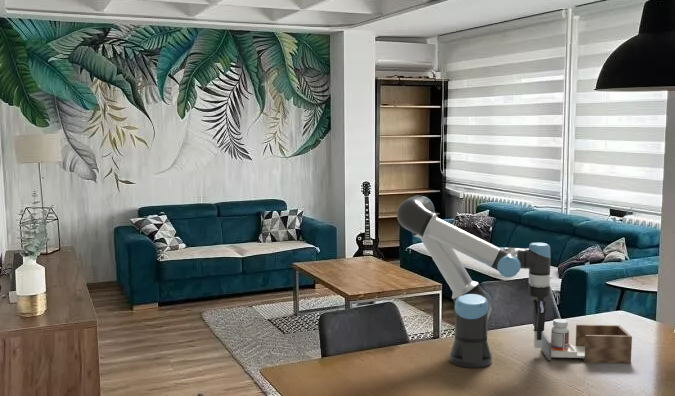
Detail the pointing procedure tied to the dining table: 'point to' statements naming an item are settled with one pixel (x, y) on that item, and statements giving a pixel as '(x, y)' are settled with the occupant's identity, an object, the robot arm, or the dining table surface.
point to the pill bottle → (560, 335)
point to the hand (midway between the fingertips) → (538, 347)
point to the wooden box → (604, 343)
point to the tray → (571, 353)
